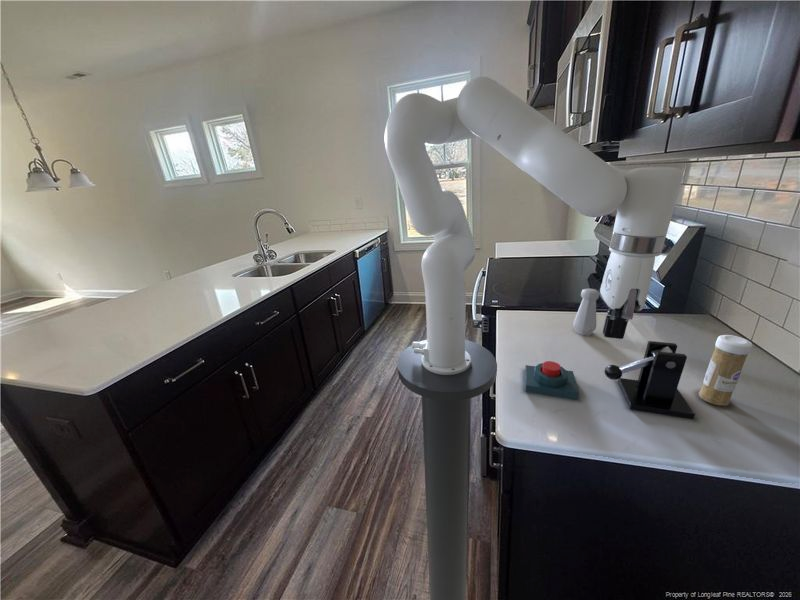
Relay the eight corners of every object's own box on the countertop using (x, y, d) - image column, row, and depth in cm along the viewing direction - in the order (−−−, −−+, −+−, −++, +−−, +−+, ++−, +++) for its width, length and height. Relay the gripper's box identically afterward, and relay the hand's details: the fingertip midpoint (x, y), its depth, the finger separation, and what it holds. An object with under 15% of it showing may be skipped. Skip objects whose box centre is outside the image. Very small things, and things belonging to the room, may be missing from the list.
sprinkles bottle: (723, 410, 60) (747, 348, 55) (693, 397, 64) (713, 338, 59) (733, 401, 62) (757, 340, 57) (703, 389, 66) (723, 331, 61)
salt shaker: (567, 329, 93) (573, 288, 88) (583, 326, 94) (590, 285, 89) (583, 338, 88) (591, 294, 83) (599, 334, 89) (608, 291, 84)
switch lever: (610, 384, 64) (603, 373, 64) (607, 376, 67) (600, 365, 66) (680, 364, 58) (672, 351, 58) (673, 356, 61) (666, 343, 61)
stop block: (525, 391, 68) (526, 378, 67) (524, 371, 75) (526, 358, 74) (577, 399, 65) (580, 385, 64) (571, 377, 72) (574, 364, 71)
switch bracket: (629, 409, 62) (643, 357, 57) (617, 382, 69) (628, 334, 65) (693, 419, 58) (713, 365, 54) (673, 389, 66) (688, 340, 62)
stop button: (542, 375, 68) (543, 369, 67) (541, 366, 71) (542, 360, 71) (560, 378, 67) (562, 371, 66) (559, 369, 70) (560, 362, 69)
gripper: (601, 234, 63) (584, 318, 70) (623, 252, 50) (598, 352, 57) (646, 236, 60) (623, 322, 67) (681, 255, 47) (648, 359, 54)
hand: (612, 335), depth 62 cm, fingers closed
